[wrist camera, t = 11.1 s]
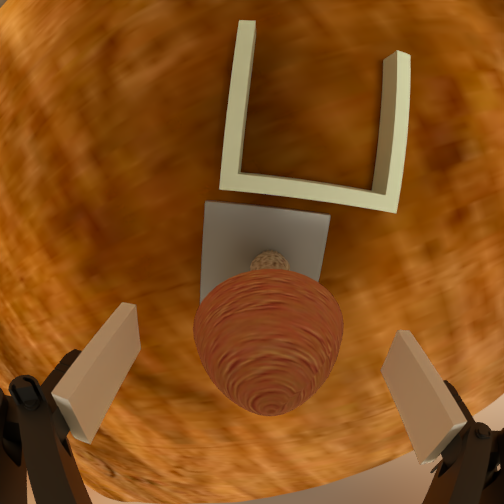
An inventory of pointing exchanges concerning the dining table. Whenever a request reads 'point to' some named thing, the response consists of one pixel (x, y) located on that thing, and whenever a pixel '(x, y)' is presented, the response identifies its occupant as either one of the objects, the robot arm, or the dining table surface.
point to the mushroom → (268, 336)
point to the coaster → (259, 239)
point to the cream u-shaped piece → (378, 199)
